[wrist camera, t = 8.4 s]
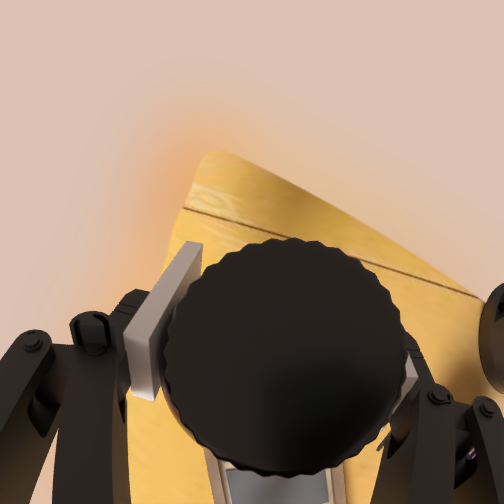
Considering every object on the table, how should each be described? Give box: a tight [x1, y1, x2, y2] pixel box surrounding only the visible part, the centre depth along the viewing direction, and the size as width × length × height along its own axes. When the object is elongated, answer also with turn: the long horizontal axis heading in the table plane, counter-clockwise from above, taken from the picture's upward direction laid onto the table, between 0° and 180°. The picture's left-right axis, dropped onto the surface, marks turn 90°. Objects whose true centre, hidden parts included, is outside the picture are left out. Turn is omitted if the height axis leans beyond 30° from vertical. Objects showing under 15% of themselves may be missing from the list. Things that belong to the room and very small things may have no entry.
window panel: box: [204, 449, 346, 504], centre depth 23 cm, size 12×23×2 cm, turn 8°
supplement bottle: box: [159, 237, 408, 479], centre depth 11 cm, size 7×7×12 cm
